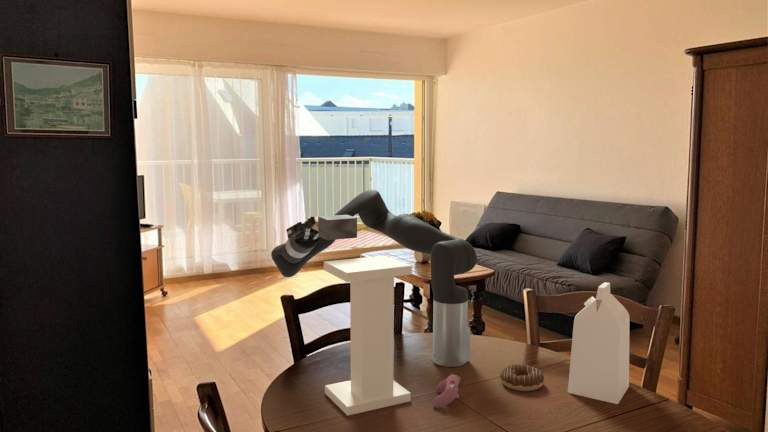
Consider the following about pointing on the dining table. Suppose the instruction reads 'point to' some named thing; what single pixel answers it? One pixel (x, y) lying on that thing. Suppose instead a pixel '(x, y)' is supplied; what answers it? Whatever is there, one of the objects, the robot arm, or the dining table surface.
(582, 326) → the milk
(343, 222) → the grey and beige blocks
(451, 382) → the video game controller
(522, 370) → the donut
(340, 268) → the stand
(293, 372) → the dining table surface
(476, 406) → the dining table surface
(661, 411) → the dining table surface
